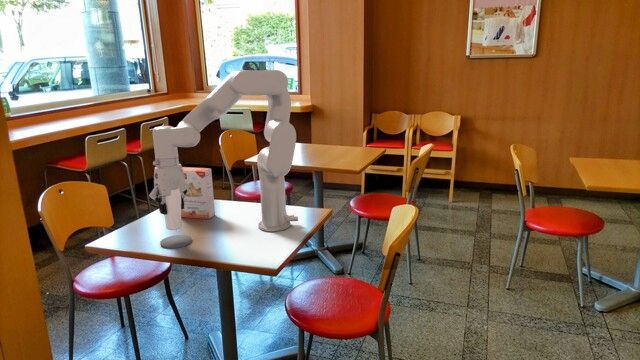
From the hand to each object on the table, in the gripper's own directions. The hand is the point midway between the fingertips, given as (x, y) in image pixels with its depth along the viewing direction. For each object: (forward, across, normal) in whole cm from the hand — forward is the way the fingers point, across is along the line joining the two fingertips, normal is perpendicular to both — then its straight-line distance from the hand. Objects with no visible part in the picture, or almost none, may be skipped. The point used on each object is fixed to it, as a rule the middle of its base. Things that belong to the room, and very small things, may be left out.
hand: (172, 210), depth 158 cm
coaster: (+12, 0, 0) cm, 12 cm away
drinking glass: (+7, 0, 0) cm, 7 cm away
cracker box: (+12, +23, +17) cm, 31 cm away
